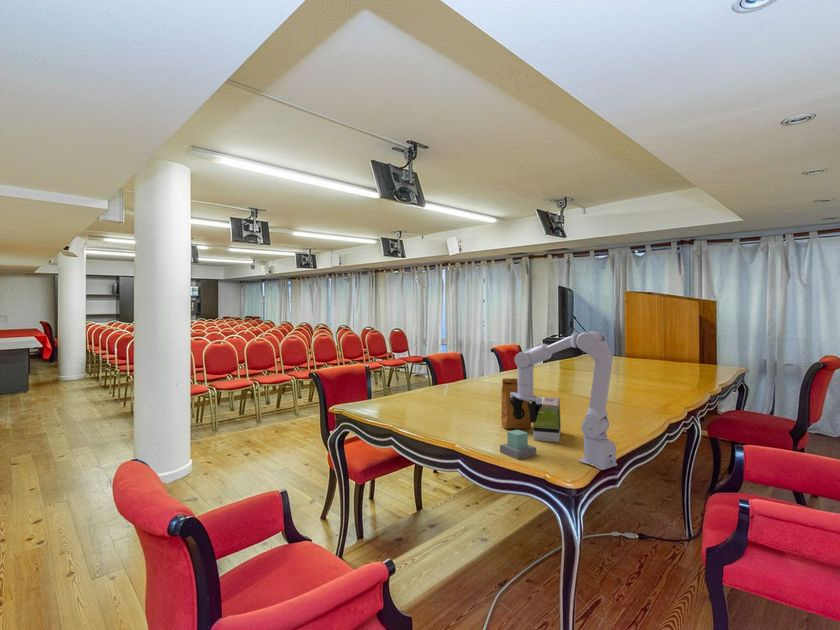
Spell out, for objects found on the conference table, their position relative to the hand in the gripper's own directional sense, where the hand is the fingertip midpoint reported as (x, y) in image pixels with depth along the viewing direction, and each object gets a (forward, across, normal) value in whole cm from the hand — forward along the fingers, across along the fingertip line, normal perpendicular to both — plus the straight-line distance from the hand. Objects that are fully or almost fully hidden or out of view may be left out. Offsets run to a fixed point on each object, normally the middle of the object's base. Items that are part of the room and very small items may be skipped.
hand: (525, 419), depth 154 cm
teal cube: (+8, +3, -7) cm, 11 cm away
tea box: (+11, -6, +18) cm, 22 cm away
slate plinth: (+10, +3, -7) cm, 13 cm away
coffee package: (+11, -22, +16) cm, 29 cm away
